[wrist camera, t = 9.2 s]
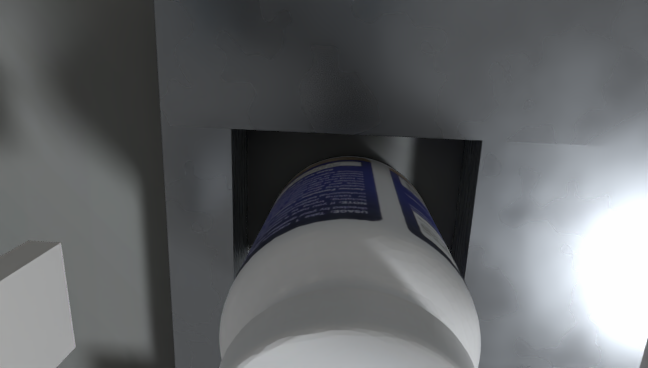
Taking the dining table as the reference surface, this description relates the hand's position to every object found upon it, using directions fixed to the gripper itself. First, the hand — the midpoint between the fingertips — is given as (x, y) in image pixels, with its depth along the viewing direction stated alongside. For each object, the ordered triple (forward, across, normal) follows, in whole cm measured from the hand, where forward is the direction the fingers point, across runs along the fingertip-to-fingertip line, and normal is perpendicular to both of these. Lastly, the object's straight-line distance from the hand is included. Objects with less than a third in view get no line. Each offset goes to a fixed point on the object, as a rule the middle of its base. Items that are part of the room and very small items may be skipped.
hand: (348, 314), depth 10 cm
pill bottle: (+7, 0, -1) cm, 7 cm away
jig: (+6, +2, -3) cm, 7 cm away
